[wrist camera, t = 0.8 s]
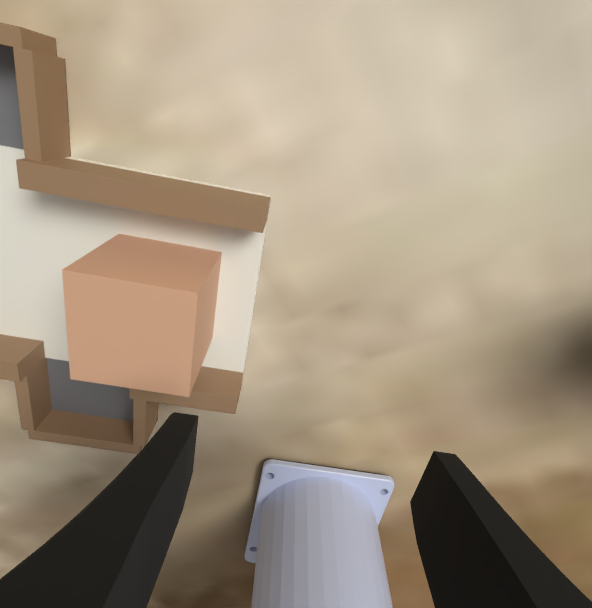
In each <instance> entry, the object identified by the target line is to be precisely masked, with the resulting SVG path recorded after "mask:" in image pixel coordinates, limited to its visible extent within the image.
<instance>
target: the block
mask: <svg viewBox="0 0 592 608" xmlns="http://www.w3.org/2000/svg"><path fill="white" fill-rule="evenodd" d="M221 256H222V252H219V251H213V250H208V249H202V248H197V247H191V246H185V245H180V244H174V243H169V242H163V241H158V240H152V239H147V238H141V237H135V236H130V235H124V234H117V235H116V236H114V237H113V238H111V239H110V240H108V241H106V242H105V243H103V244H102V245H100V246H99V247H97V248H95V249H94V250H92V251H91V252H89V253H88V254H86V255H84V256H83V257H81V258H80V259H78V260H76V261H75V262H73V263H72V264H70V265H69V266H67V267H65V268H64V269H62V277H63V290H64V303H65V316H66V329H67V342H68V355H69V368H70V379H73V380H80V381H86V382H93V383H99V384H106V385H112V386H119V387H125V388H132V389H139V390H145V391H152V392H158V393H165V394H171V395H178V396H184V397H189V396H190V393H191V391H192V388H193V386H194V383H195V381H196V378H197V376H198V373H199V371H200V368H201V366H202V363H203V361H204V358H205V356H206V353H207V351H208V348H209V346H210V343H211V341H212V338H213V329H214V320H215V311H216V302H217V293H218V284H219V274H220V265H221Z"/></svg>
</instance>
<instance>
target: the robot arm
mask: <svg viewBox="0 0 592 608" xmlns="http://www.w3.org/2000/svg"><path fill="white" fill-rule="evenodd" d="M197 424H198V416H196V415H189V414H182V413H176V412H175V413H173V414H171V415H170V416H169V417H168V419H167V420H166V421H165V423H164V424H163V425H162V427H161V428H160V429H159V430H158V432H157V433H156V434H155V435H154V436H153V438H152V439H151V440H150V441H149V442H148V443H147V445H146V446H145V447H144V448H143V449H142V450H141V451H140V453H139V454H138V455H137V456H136V457H135V458H134V459H133V460H132V461H131V462H130V463H129V464H128V465H127V467H126V468H125V469H124V470H123V471H122V472H121V473H120V474H119V475H118V476H117V477H116V478H115V479H114V480H113V481H112V482H111V483H110V484H109V485H108V486H107V487H106V488H105V489H104V490H103V491H102V492H101V493H100V494H99V495H98V496H97V497H96V498H95V499H94V500H93V501H92V502H91V503H90V504H89V505H87V506H86V507H85V508H84V509H83V510H82V511H81V512H80V513H79V514H78V515H77V516H76V517H74V518H73V519H72V520H71V521H70V522H69V523H68V524H67V525H66V526H64V527H63V528H62V529H61V530H60V531H59V532H58V533H56V534H55V535H54V536H53V537H52V538H50V539H49V540H48V541H47V542H46V543H45V544H43V545H42V546H41V547H40V548H39V549H37V550H36V551H35V552H34V553H32V554H31V555H30V556H29V557H27V558H26V559H25V560H24V561H22V562H21V563H20V564H19V565H17V566H16V567H15V568H14V569H12V570H11V571H10V572H9V573H7V574H6V575H5V576H4V577H2V578H1V579H0V608H146V607H147V604H148V602H149V599H150V596H151V594H152V591H153V588H154V586H155V583H156V580H157V578H158V575H159V572H160V570H161V567H162V564H163V561H164V559H165V556H166V553H167V551H168V548H169V545H170V543H171V540H172V537H173V535H174V532H175V529H176V527H177V524H178V521H179V518H180V516H181V513H182V510H183V506H184V502H185V499H186V495H187V491H188V487H189V484H190V480H191V476H192V472H193V463H194V453H195V443H196V433H197ZM269 473H272V474H269ZM394 486H395V484H394V480H393V478H392V477H390V476H386V475H379V474H372V473H365V472H358V471H351V470H344V469H337V468H330V467H323V466H316V465H309V464H302V463H295V462H288V461H281V460H274V459H269V460H267V461H265V462H264V464H263V469H262V474H261V478H260V483H259V488H258V493H257V498H256V502H255V507H254V512H253V517H252V522H251V526H250V531H249V536H248V541H247V546H246V551H245V560H246V561H248V562H251V563H256V565H255V575H254V585H253V595H252V605H251V608H393V606H392V601H391V596H390V591H389V585H388V580H387V575H386V569H385V564H384V559H383V554H382V548H381V543H380V538H379V533H378V524H379V522H380V520H381V517H382V515H383V513H384V510H385V508H386V505H387V503H388V501H389V498H390V496H391V494H392V491H393V489H394ZM382 489H383V490H382ZM410 503H411V510H412V516H413V523H414V529H415V535H416V540H417V545H418V549H419V552H420V556H421V559H422V563H423V567H424V570H425V574H426V577H427V581H428V584H429V588H430V591H431V595H432V598H433V602H434V605H435V608H592V602H591V601H590V600H589V599H588V598H587V597H586V596H585V595H584V594H583V593H582V592H581V591H580V590H579V589H578V588H577V587H576V586H575V585H574V584H573V583H572V582H571V581H570V580H569V579H568V578H567V577H566V576H565V575H564V574H563V573H562V572H561V571H560V570H559V569H558V568H557V567H556V566H555V565H554V564H553V563H552V562H551V561H550V560H549V559H548V558H547V557H546V556H545V554H544V553H543V552H542V551H541V550H540V549H539V548H538V547H537V546H536V545H535V544H534V543H533V542H532V541H531V539H530V538H529V537H528V536H527V535H526V534H525V533H524V532H523V531H522V530H521V529H520V527H519V526H518V525H517V524H516V523H515V522H514V521H513V520H512V518H511V517H510V516H509V515H508V514H507V513H506V512H505V511H504V509H503V508H502V507H501V506H500V505H499V504H498V503H497V501H496V500H495V499H494V498H493V497H492V496H491V494H490V493H489V492H488V491H487V490H486V489H485V487H484V486H483V485H482V484H481V483H480V482H479V480H478V479H477V478H476V477H475V476H474V475H473V474H472V472H471V471H470V470H469V469H468V468H467V467H466V466H465V464H464V463H463V462H462V461H461V460H460V459H459V458H458V457H457V456H456V455H455V454H450V453H443V452H436V451H434V452H433V454H432V456H431V458H430V460H429V463H428V465H427V467H426V469H425V471H424V473H423V476H422V478H421V480H420V482H419V484H418V487H417V489H416V491H415V493H414V495H413V497H412V500H411V502H410Z"/></svg>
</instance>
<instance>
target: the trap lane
mask: <svg viewBox="0 0 592 608" xmlns="http://www.w3.org/2000/svg"><path fill="white" fill-rule="evenodd" d="M270 201H271V195H268V194H262V193H257V192H252V191H247V190H242V189H236V188H231V187H226V186H221V185H215V184H210V183H205V182H200V181H195V180H189V179H184V178H179V177H174V176H169V175H163V174H158V173H153V172H148V171H143V170H137V169H132V168H127V167H122V166H116V165H111V164H106V163H101V162H96V161H90V160H85V159H80V158H75V157H71V154H70V137H69V120H68V103H67V86H66V69H65V59H63V58H59V57H57V54H56V39H55V38H52V37H49V36H46V35H43V34H40V33H37V32H34V31H31V30H28V29H25V28H22V27H18V26H13V25H9V24H4V23H0V379H5V380H12V381H15V387H16V393H17V400H18V406H19V413H20V419H21V426H22V429H26V430H28V433H29V439H36V440H43V441H50V442H57V443H65V444H72V445H79V446H86V447H93V448H100V449H107V450H114V451H121V452H128V453H135V454H139V453H140V451H141V448H142V446H145V445H146V443H147V441H148V439H149V437H150V434H151V432H152V430H153V428H154V426H155V424H156V422H157V420H158V403H164V404H171V405H178V406H184V407H191V408H197V409H204V410H211V411H217V412H224V413H231V414H235V413H236V408H237V404H238V399H239V395H240V390H241V385H242V380H243V374H244V367H245V361H246V355H247V348H248V342H249V335H250V329H251V323H252V316H253V310H254V303H255V297H256V290H257V284H258V278H259V271H260V265H261V258H262V252H263V246H264V239H265V233H266V226H267V220H268V213H269V207H270ZM117 234H124V235H130V236H135V237H141V238H147V239H152V240H158V241H163V242H169V243H174V244H180V245H185V246H191V247H197V248H202V249H208V250H213V251H219V252H222V256H221V265H220V274H219V284H218V293H217V302H216V311H215V320H214V329H213V338H212V341H211V343H210V346H209V348H208V351H207V353H206V356H205V358H204V361H203V363H202V366H201V368H200V371H199V373H198V376H197V378H196V381H195V383H194V386H193V388H192V391H191V393H190V396H189V397H184V396H178V395H171V394H165V393H158V392H152V391H145V390H139V389H132V388H125V387H119V386H112V385H106V384H99V383H93V382H86V381H80V380H73V379H70V368H69V355H68V342H67V329H66V316H65V303H64V290H63V277H62V269H64V268H65V267H67V266H69V265H70V264H72V263H73V262H75V261H76V260H78V259H80V258H81V257H83V256H84V255H86V254H88V253H89V252H91V251H92V250H94V249H95V248H97V247H99V246H100V245H102V244H103V243H105V242H106V241H108V240H110V239H111V238H113V237H114V236H116V235H117Z"/></svg>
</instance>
